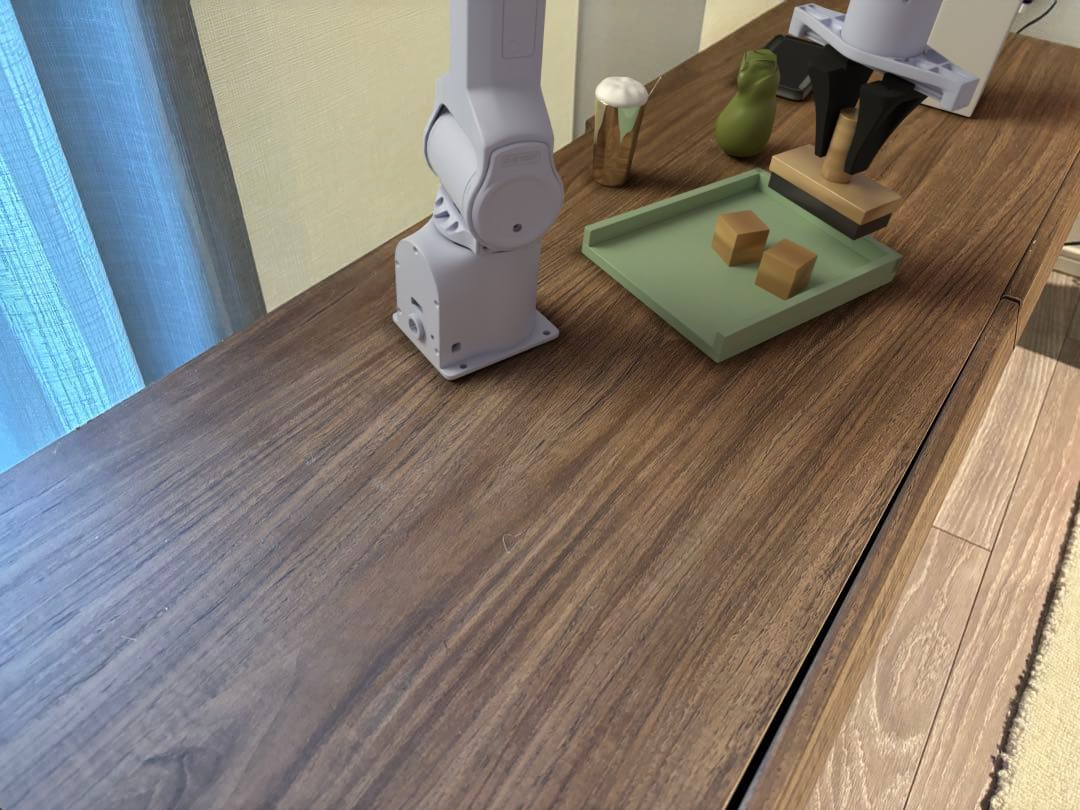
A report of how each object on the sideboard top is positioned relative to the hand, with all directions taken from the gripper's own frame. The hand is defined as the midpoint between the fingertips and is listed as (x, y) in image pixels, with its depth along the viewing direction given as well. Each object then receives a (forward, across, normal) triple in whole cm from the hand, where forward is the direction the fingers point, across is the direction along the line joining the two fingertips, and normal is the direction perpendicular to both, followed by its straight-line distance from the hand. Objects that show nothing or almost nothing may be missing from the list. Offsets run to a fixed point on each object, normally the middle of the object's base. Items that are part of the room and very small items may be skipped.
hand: (840, 161), depth 67 cm
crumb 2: (+8, -2, +6) cm, 10 cm away
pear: (+9, +16, -8) cm, 20 cm away
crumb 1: (+8, +3, +6) cm, 10 cm away
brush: (+4, 0, 0) cm, 4 cm away
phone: (+9, +28, -28) cm, 40 cm away
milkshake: (+9, +18, +6) cm, 21 cm away
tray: (+9, +2, +6) cm, 11 cm away
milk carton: (+9, +14, -39) cm, 43 cm away
